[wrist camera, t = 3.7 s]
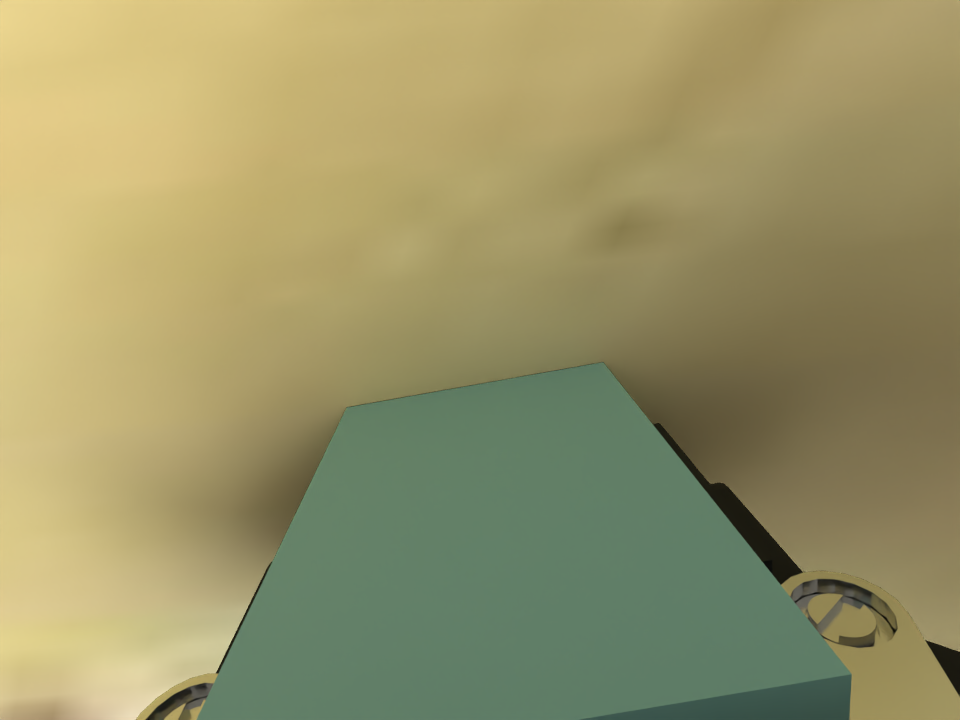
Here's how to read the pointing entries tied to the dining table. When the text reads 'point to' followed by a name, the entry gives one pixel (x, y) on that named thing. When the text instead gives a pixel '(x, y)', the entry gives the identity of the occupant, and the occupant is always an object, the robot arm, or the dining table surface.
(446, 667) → the teal block
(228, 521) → the dining table surface
